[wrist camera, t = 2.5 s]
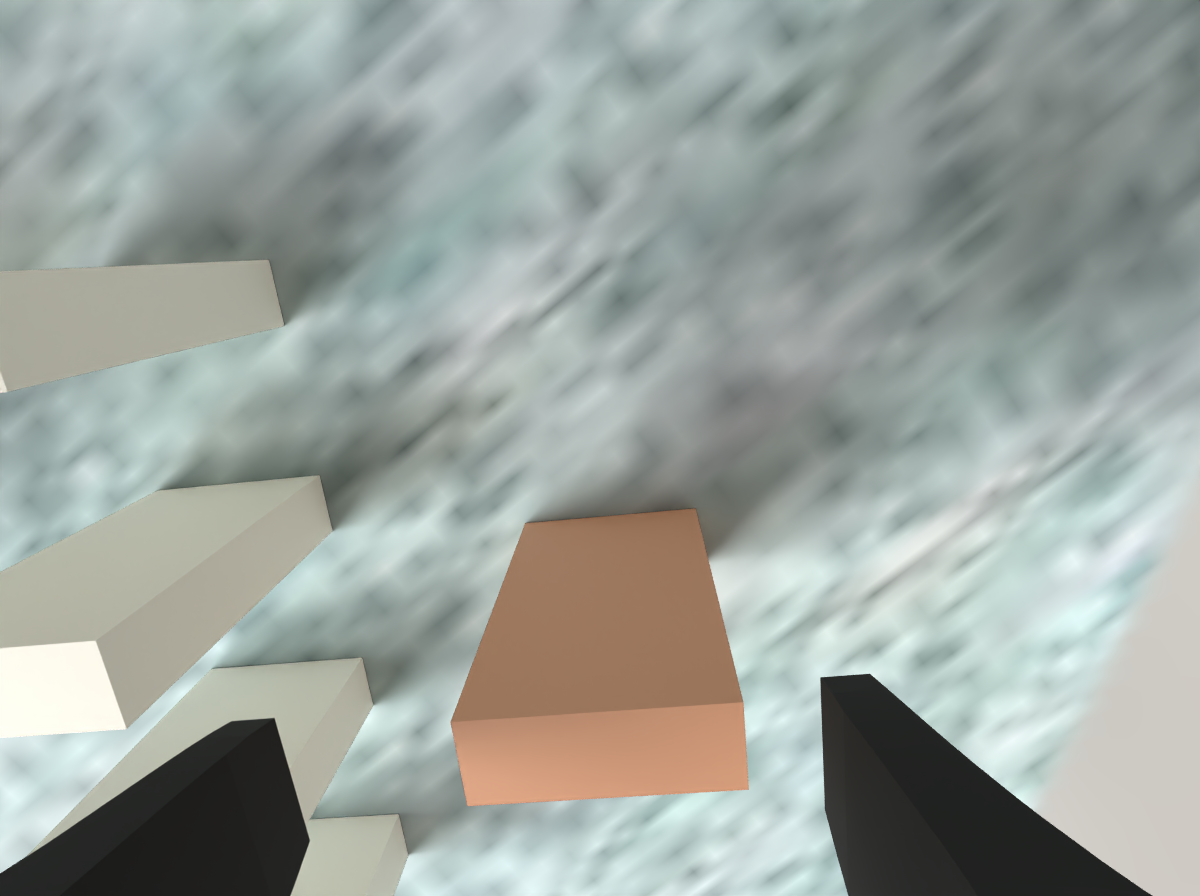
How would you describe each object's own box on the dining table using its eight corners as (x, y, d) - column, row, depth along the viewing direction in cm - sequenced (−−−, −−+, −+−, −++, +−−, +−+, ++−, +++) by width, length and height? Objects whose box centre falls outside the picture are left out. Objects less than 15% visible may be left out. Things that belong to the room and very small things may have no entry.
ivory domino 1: (284, 326, 17) (7, 392, 10) (112, 345, 18) (-289, 424, 10) (268, 259, 17) (-36, 272, 9) (93, 280, 17) (-343, 309, 9)
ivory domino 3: (373, 705, 20) (216, 986, 13) (225, 715, 21) (-15, 995, 13) (362, 657, 20) (193, 918, 12) (211, 668, 20) (-46, 929, 12)
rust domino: (700, 564, 19) (748, 789, 11) (533, 577, 19) (467, 806, 11) (695, 508, 18) (743, 702, 10) (525, 523, 18) (450, 721, 11)
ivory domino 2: (332, 531, 19) (126, 728, 11) (173, 545, 19) (-134, 746, 11) (319, 475, 18) (95, 640, 11) (157, 490, 19) (-174, 661, 11)
